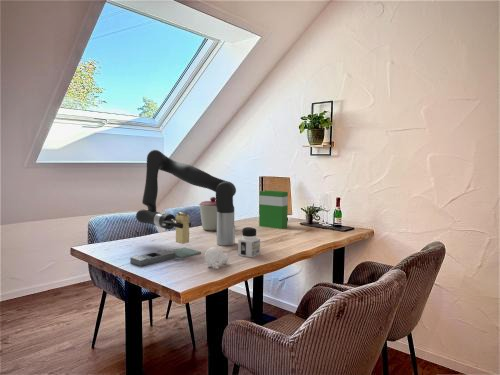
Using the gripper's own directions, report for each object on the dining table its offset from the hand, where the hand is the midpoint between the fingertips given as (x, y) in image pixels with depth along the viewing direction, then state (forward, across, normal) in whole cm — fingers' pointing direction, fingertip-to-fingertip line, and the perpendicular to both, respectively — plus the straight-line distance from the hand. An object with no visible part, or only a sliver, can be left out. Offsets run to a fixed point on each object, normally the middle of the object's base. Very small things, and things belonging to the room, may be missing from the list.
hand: (186, 225), depth 170 cm
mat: (-2, 0, +14) cm, 14 cm away
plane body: (-2, -16, +14) cm, 22 cm away
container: (+22, +20, +14) cm, 33 cm away
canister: (-36, +50, +14) cm, 64 cm away
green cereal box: (-14, +86, +14) cm, 88 cm away
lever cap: (-3, 0, +8) cm, 9 cm away
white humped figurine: (+24, -2, +14) cm, 28 cm away
